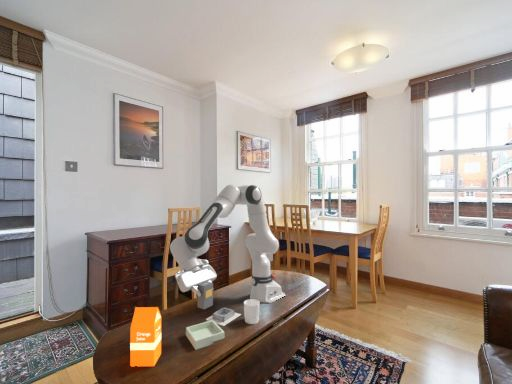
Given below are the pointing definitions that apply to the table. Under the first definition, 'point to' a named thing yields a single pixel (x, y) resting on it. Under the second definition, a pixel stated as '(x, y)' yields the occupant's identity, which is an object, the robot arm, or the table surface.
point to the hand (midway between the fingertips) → (206, 293)
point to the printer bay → (223, 316)
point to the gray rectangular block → (205, 295)
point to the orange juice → (145, 337)
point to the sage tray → (204, 334)
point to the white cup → (251, 311)
